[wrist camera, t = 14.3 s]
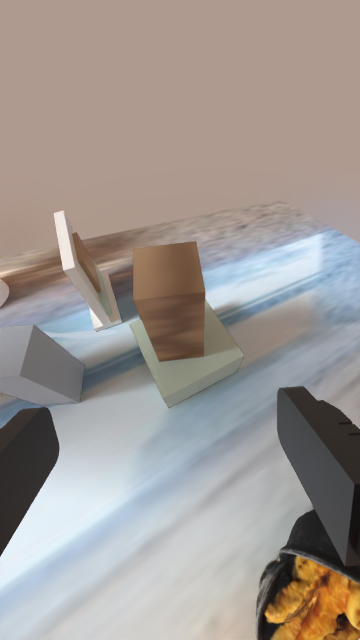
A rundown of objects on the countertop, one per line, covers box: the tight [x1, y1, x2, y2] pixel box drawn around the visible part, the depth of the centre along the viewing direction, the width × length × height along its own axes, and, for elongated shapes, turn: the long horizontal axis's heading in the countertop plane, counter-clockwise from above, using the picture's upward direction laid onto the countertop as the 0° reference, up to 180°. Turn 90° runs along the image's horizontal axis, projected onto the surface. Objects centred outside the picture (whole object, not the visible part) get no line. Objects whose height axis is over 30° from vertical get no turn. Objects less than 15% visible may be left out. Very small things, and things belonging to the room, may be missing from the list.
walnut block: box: [133, 241, 205, 362], centre depth 23 cm, size 5×5×12 cm
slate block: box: [0, 324, 85, 406], centre depth 27 cm, size 5×5×12 cm
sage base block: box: [129, 299, 244, 408], centre depth 31 cm, size 10×10×6 cm
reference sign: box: [54, 211, 122, 332], centre depth 33 cm, size 4×10×13 cm, turn 20°
